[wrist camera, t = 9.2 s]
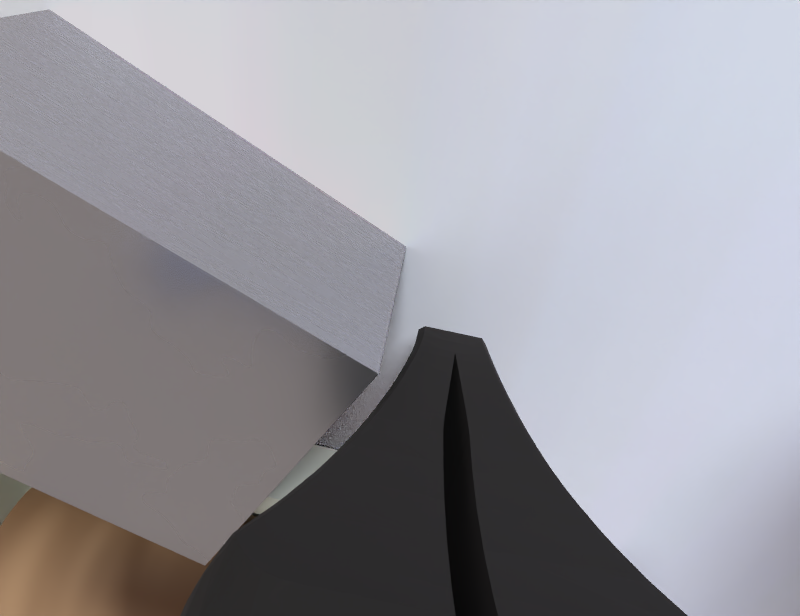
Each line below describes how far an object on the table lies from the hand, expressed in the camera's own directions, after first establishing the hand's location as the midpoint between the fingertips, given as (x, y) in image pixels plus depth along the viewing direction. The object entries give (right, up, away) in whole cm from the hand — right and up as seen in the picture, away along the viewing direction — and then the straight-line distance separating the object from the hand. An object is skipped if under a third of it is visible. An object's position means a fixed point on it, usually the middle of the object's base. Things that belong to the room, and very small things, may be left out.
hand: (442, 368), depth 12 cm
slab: (-6, +3, +1) cm, 7 cm away
